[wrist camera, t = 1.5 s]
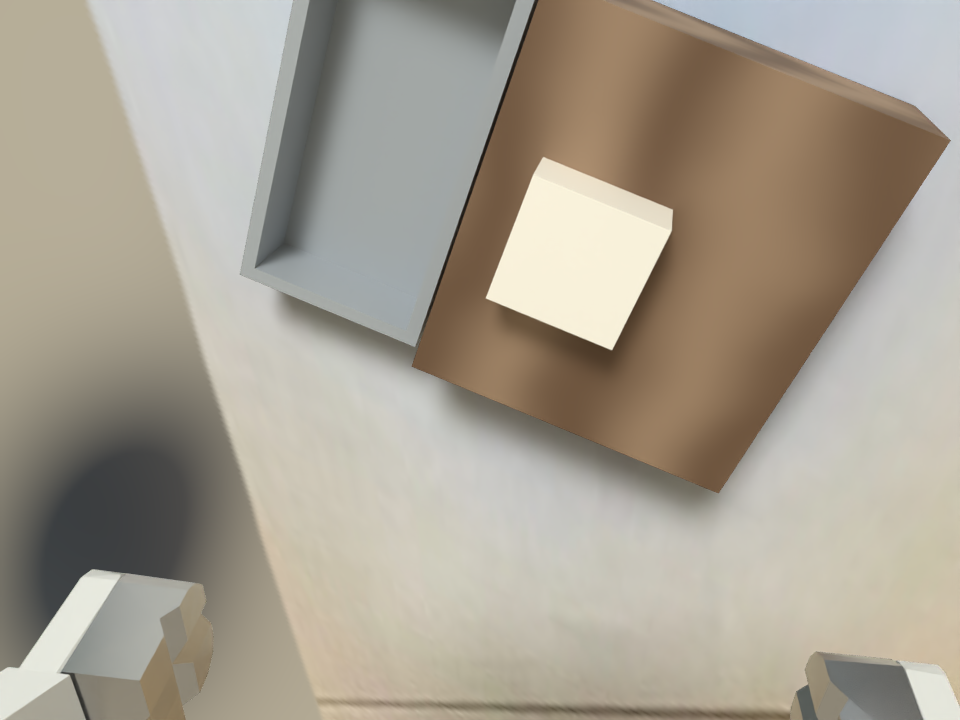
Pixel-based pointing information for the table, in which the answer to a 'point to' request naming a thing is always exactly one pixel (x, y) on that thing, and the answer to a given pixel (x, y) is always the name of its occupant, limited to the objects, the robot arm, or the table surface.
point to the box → (378, 151)
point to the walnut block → (679, 227)
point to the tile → (579, 253)
